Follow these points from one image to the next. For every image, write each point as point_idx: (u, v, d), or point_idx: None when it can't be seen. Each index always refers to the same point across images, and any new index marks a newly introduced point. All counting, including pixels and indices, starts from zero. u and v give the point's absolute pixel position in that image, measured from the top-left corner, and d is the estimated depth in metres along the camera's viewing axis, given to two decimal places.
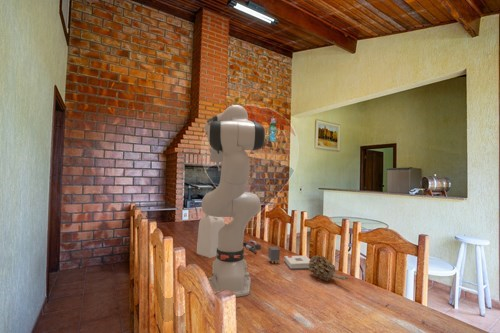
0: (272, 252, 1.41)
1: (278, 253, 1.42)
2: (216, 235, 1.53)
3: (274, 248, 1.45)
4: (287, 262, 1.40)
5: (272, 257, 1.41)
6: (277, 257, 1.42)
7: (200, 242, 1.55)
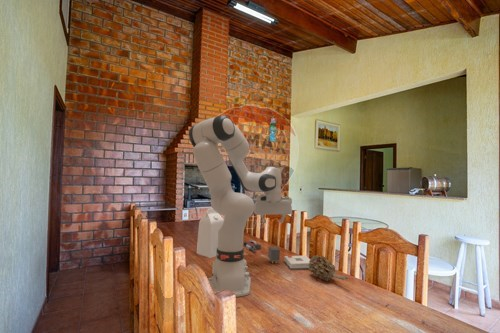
0: (272, 252, 1.41)
1: (278, 253, 1.42)
2: (216, 235, 1.53)
3: (274, 248, 1.45)
4: (287, 262, 1.40)
5: (272, 257, 1.41)
6: (277, 257, 1.42)
7: (200, 242, 1.55)
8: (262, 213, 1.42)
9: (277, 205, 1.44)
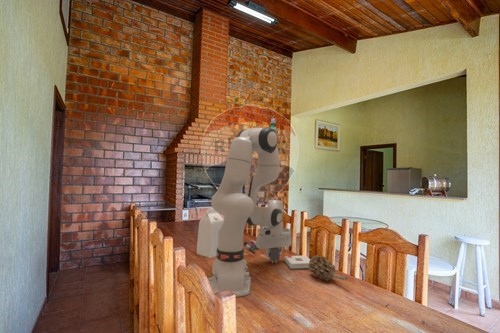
0: (272, 252, 1.41)
1: (278, 253, 1.42)
2: (216, 235, 1.53)
3: (274, 248, 1.45)
4: (287, 262, 1.40)
5: (272, 257, 1.41)
6: (277, 257, 1.42)
7: (200, 242, 1.55)
8: (265, 247, 1.40)
9: (279, 238, 1.44)
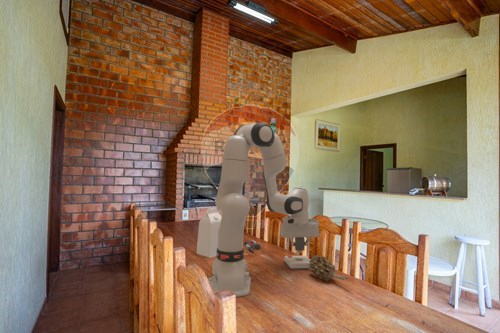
0: (296, 241, 1.39)
1: (303, 242, 1.38)
2: (216, 235, 1.53)
3: (299, 237, 1.42)
4: (287, 262, 1.40)
5: (296, 247, 1.39)
6: (302, 247, 1.38)
7: (200, 242, 1.55)
8: (289, 236, 1.39)
9: (304, 228, 1.40)
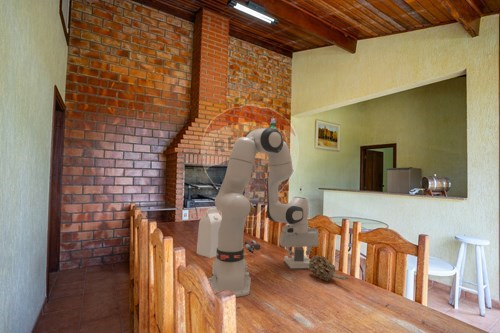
0: (296, 252, 1.39)
1: (302, 253, 1.38)
2: (216, 235, 1.53)
3: (299, 248, 1.42)
4: (287, 262, 1.40)
5: (296, 257, 1.39)
6: (301, 258, 1.38)
7: (200, 242, 1.55)
8: (288, 245, 1.39)
9: (304, 237, 1.40)
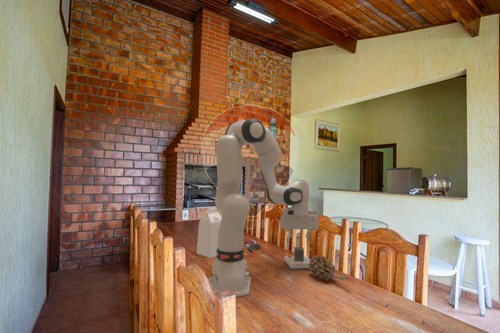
0: (296, 252, 1.39)
1: (302, 253, 1.38)
2: (216, 235, 1.53)
3: (299, 248, 1.42)
4: (287, 262, 1.40)
5: (296, 257, 1.39)
6: (301, 258, 1.38)
7: (200, 242, 1.55)
8: (288, 227, 1.39)
9: (304, 220, 1.40)
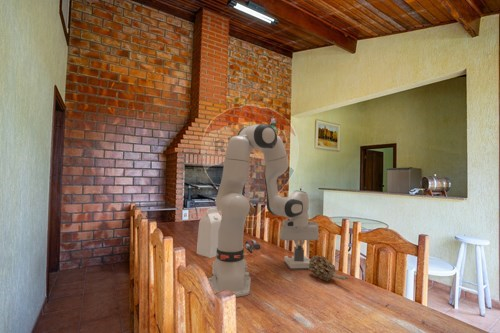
0: (296, 252, 1.39)
1: (302, 253, 1.38)
2: (216, 235, 1.53)
3: None
4: (287, 262, 1.40)
5: (296, 257, 1.39)
6: (301, 258, 1.38)
7: (200, 242, 1.55)
8: (288, 239, 1.39)
9: (304, 231, 1.40)
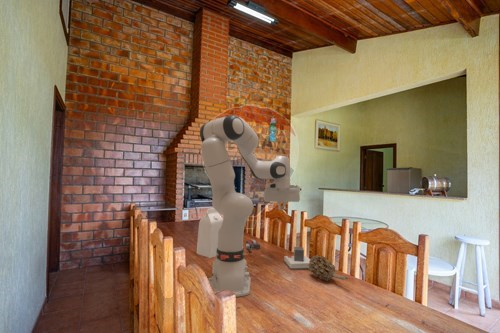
0: (296, 252, 1.39)
1: (302, 253, 1.38)
2: (216, 235, 1.53)
3: (299, 248, 1.42)
4: (287, 262, 1.40)
5: (296, 257, 1.39)
6: (301, 258, 1.38)
7: (200, 242, 1.55)
8: (271, 200, 1.49)
9: (286, 193, 1.50)
